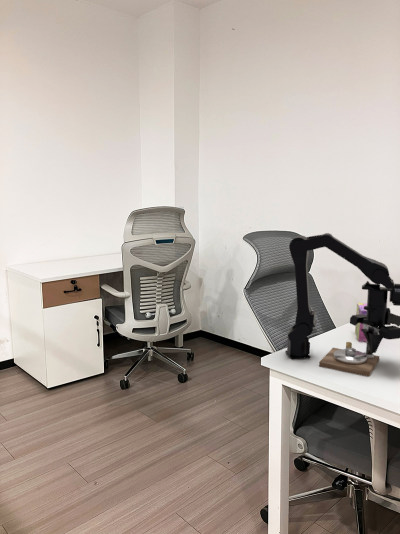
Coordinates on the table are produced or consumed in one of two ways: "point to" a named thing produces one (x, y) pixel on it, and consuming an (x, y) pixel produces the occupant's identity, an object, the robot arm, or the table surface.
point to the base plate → (358, 369)
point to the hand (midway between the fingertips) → (373, 352)
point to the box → (359, 326)
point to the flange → (353, 355)
